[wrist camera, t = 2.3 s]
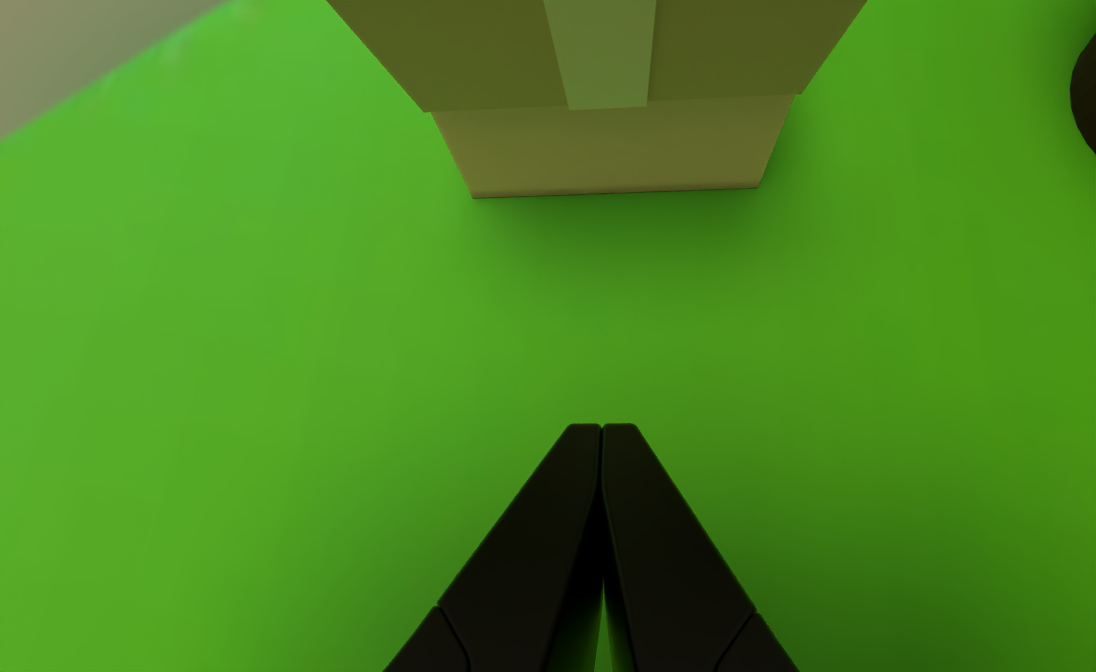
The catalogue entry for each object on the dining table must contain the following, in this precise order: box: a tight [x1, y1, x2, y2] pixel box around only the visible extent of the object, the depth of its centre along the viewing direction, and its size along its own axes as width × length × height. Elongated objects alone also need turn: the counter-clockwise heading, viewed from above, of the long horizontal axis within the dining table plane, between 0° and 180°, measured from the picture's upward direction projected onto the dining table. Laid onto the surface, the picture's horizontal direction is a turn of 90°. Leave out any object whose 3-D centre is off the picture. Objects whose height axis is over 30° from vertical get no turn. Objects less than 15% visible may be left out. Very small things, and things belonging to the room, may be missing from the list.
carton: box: [431, 94, 795, 198], centre depth 22 cm, size 8×9×6 cm
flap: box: [326, 0, 867, 112], centre depth 13 cm, size 8×9×1 cm
